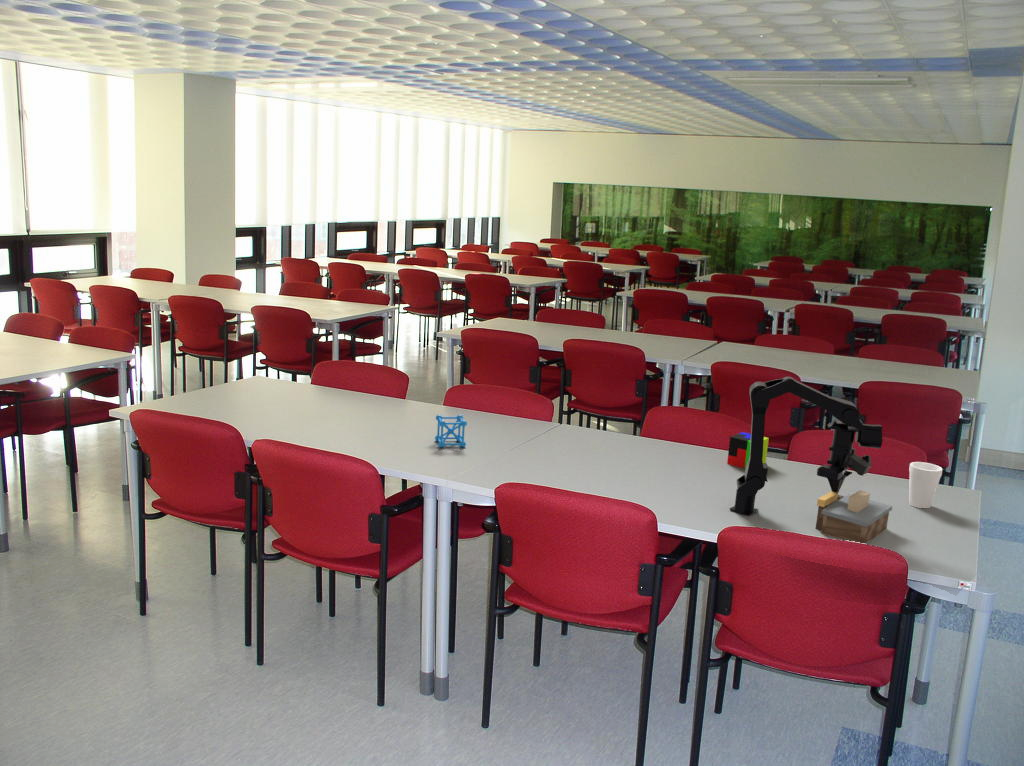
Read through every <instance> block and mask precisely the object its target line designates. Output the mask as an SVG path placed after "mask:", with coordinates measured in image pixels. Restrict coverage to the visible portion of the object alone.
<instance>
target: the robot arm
mask: <svg viewBox="0 0 1024 766" xmlns="http://www.w3.org/2000/svg"><path fill="white" fill-rule="evenodd" d="M748 391H749V398H750V407H751V427H750V434H751V441H750V456H749V460H748V463H747V466H746V469H745V471H744V474H742V475H741V476H740V477H738V478H737V479H736V487H737V489H736V491H735V500H734V506H732V507H730V508H729V511H733V512H735V513H739V514H743V515H745V516H748V517H749V516H751V515H753V514H755V513H757V512H758V511H759V508H756V507H755V502H756V496H757V493H758V492H759V491H760V490H761V489H764V487H765V485H766V482H768V477H767V476H768V471H769V467H768V463H767V462H766V463H763V461H762V458H763V442H764V437H765V425H766V423H765V422H766V415H767V411H768V408H769V405H770V401H771V400H772V399H776V398H778V397H781V396H783V395H785V394H788V393H790V394H793V395H794V396H797V397H798V398H801V399H803V400H804V401H806V402H809V403H811V404H813V405H815V406H816V407H819V408H821V409H823V410H825V411H826V412H828V413H829V414H830V415H831V416H832V417H834V418H835V419H833V420H832V421H831V422H829V423H828V424H827V427H828V429H830V430H833V434H832V435H833V436H832V437H833V438H832V443H831V446H829V447H828V450H829V451H830V456H829V457H830V458H829V459H827V461H826V463H827V464H826V463H825V464H823V465H821V466H820V467H818V468H817V469H816V475H817V476H818V477H821V478H825V479H827V481H828V484H829V486H830V490H831V491H833V492H837V493H838V494H839V492H840V490H841V487H842V486H843V483H844V481H845V479H846V478H847V477H849V476H850V475H852V474H853V472H855V473H856V474H858V475H859V476H861V477H863V476H864V475H867V474H868V471H869V470H870V469H871V468H872V464H873V463H872V457H871V456H870V455H868V454H865V455H863V456H861V455H857V454H856V448H855V447H854V442H855V443H858V446H859V447H861V448H863V447H864V448H873V449H881V448H882V446H883V441H884V439H883V426H882V425H881V424H867V423H864V422H863V421H862V420H861V419H860V418H859V416H860V412H859V409H858V407H857V406H856V405H855V404H854V402H852V401H850V400H846V399H843V398H840V397H833V396H831V395H827V394H826V393H823V392H821V391H819V390H818V389H816V388H813V387H811V386H809V385H807V384H805V383H802V382H800V381H798V380H797V379H795V378H793V377H792V376H785V377H782V378H778V379H773V380H768V381H764V382H763V381H755V382H754V383H752V384H751V385H750V386H749V390H748ZM836 419H837V420H838V421H839V422H837V420H836ZM849 425H850V426H849ZM853 447H854V448H853ZM849 469H851V470H852V471H853V472H852V471H849Z"/></svg>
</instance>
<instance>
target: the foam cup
mask: <svg viewBox="0 0 1024 766" xmlns="http://www.w3.org/2000/svg"><path fill="white" fill-rule="evenodd" d="M908 471H909V479H908V481H909V485H908V486H909V487H908V489H909V490H908V501H909V502H908V504H909V505H910V506H911V505H912V507H913V506H914V508H916V507H917V508H918V509H921V508H929V509H931V508H930V507H932V505H933V501H934V498H935V495H936V492H937V489H938V487H939V483H940V479H941V477H942V476H943V468H942V467H941V466H939V465H938V464H937V465H936V464H934V463H930V462H922V461H913V462H910V463H909V468H908ZM917 508H916V509H917Z"/></svg>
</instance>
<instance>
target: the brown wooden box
mask: <svg viewBox="0 0 1024 766" xmlns="http://www.w3.org/2000/svg"><path fill="white" fill-rule="evenodd" d="M843 497H845V496H844V495H841V494H838V498H837V500H840V499H841V498H843ZM826 507H828V505H827V506H825V507H821V506H818V507H817V515H816V522H815V523H816V524H815V529H816V530H819V531H821V532H820V534H822V535H825V536H829V537H832V538H835V539H838V540H841V539H842V541H844V540H849V541H855V542H860V543H866V544H868V543H869V542H871V541H872V540H873V539H875V538H876V537H877V536H879V535H880V534H882V533H883V532H884V531H886V530H887V528H888V522H889V516H890V512H888V513H887V514H885V515H884V516H882V517H881V518H879V519H878V520H876V521H875V522H873V523H872V524H870V525H869V526H867V527H866V526H862V525H859V524H855V523H852V522H848V521H845V520H841V519H838V518H834V517H831V516H827V515H824V514H821V513H822V510H823V509H824V508H826Z"/></svg>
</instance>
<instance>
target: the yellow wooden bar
mask: <svg viewBox="0 0 1024 766" xmlns="http://www.w3.org/2000/svg"><path fill="white" fill-rule="evenodd" d="M838 495H839V492H838V493H837V492H833V491H832V490H831V491H829V492H827V493H826V494H824V495H822V496H820V497H818V498H817V502H816V505H817V506H818V507H819V506H821V507H825V506H827V505H828V504H830V503H832V502H833V501H835V500H837V498H838Z"/></svg>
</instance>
